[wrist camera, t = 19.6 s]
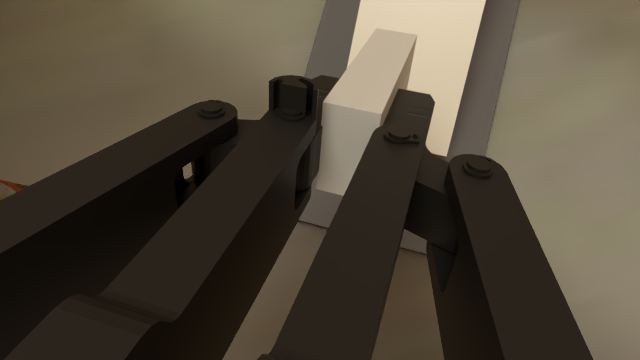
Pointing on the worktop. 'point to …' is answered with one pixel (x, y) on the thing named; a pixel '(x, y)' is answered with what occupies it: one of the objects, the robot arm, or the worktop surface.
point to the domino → (429, 51)
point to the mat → (474, 103)
